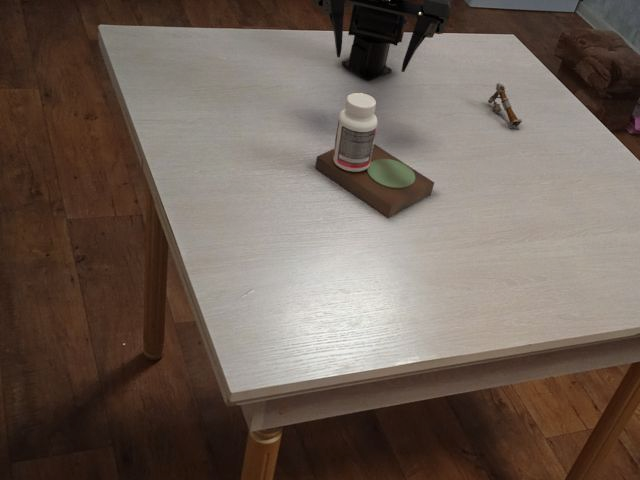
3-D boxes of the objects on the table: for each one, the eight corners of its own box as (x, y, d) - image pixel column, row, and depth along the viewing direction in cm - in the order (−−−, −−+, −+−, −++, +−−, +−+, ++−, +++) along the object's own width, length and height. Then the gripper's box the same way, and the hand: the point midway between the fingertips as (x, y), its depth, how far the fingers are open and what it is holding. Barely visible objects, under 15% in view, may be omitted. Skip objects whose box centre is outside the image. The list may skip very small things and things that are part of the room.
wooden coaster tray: (360, 147, 125) (362, 134, 123) (431, 193, 120) (435, 181, 118) (314, 168, 118) (316, 155, 117) (388, 217, 114) (391, 204, 112)
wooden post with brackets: (491, 96, 143) (504, 79, 140) (509, 135, 142) (523, 120, 138) (482, 97, 143) (496, 80, 139) (500, 136, 141) (514, 120, 137)
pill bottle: (377, 169, 117) (388, 106, 111) (345, 176, 115) (355, 112, 108) (357, 149, 120) (367, 87, 113) (325, 155, 118) (333, 92, 111)
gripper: (326, -92, 107) (304, 27, 106) (467, -58, 108) (445, 59, 108) (325, -52, 118) (304, 56, 118) (452, -22, 119) (432, 85, 119)
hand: (370, 63), depth 115 cm, fingers open, 9 cm apart
